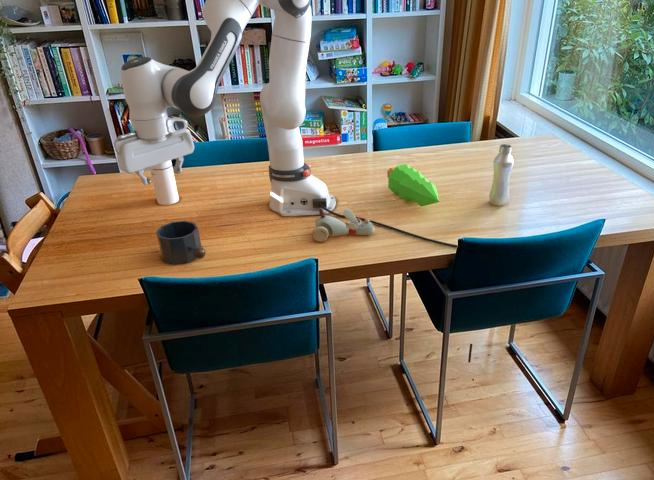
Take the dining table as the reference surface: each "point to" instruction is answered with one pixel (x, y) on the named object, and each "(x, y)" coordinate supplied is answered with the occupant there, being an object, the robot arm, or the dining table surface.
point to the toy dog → (340, 226)
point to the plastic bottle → (501, 176)
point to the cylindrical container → (164, 183)
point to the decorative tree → (411, 185)
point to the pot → (180, 242)
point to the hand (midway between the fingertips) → (162, 178)
